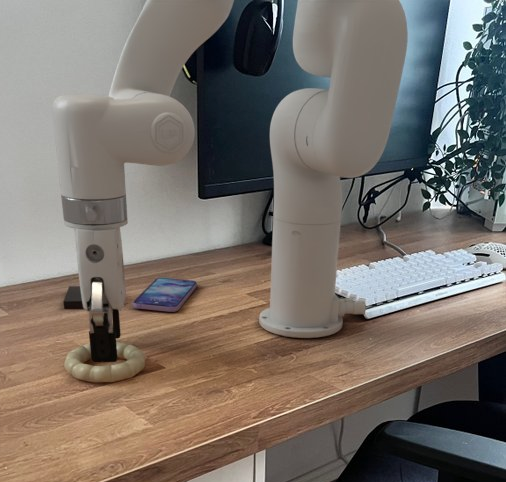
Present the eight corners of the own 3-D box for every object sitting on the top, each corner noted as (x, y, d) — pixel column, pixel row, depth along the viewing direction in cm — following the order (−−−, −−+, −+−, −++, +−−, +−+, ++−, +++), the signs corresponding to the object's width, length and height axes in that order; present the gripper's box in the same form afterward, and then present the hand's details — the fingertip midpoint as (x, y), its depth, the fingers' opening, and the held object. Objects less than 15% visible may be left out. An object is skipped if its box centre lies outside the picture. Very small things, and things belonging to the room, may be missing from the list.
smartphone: (198, 280, 119) (176, 308, 107) (198, 286, 120) (176, 313, 107) (157, 276, 120) (130, 303, 107) (157, 282, 121) (130, 309, 108)
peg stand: (118, 292, 116) (115, 249, 112) (115, 308, 109) (112, 262, 105) (69, 293, 115) (64, 249, 111) (64, 308, 108) (58, 262, 104)
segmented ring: (146, 352, 93) (145, 338, 92) (144, 383, 84) (143, 368, 83) (70, 354, 92) (68, 340, 91) (61, 386, 83) (59, 370, 82)
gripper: (123, 226, 75) (133, 375, 84) (129, 197, 90) (137, 326, 99) (53, 226, 74) (70, 376, 83) (70, 197, 89) (84, 327, 98)
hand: (106, 348), depth 91 cm, fingers open, 7 cm apart
